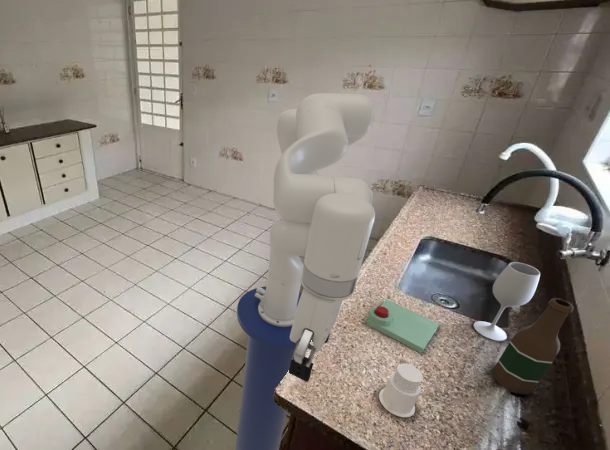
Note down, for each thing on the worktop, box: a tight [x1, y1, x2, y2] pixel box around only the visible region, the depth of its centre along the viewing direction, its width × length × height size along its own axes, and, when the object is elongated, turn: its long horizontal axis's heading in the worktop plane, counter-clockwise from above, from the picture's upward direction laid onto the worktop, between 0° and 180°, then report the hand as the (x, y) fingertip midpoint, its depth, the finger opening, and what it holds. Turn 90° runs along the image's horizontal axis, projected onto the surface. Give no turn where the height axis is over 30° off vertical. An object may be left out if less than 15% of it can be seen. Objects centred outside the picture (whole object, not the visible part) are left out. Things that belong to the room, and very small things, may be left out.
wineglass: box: [473, 261, 541, 342], centre depth 91 cm, size 8×8×21 cm
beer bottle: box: [491, 297, 575, 396], centre depth 77 cm, size 8×8×24 cm
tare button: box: [375, 305, 389, 318], centre depth 97 cm, size 3×3×2 cm
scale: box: [366, 298, 440, 354], centre depth 97 cm, size 15×13×4 cm
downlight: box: [378, 363, 423, 418], centre depth 75 cm, size 8×7×10 cm
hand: (309, 356), depth 60 cm, fingers open, 9 cm apart
